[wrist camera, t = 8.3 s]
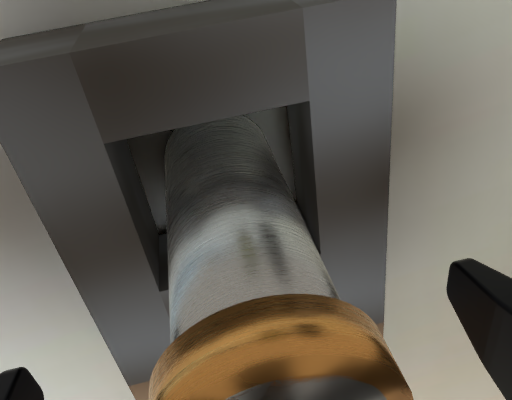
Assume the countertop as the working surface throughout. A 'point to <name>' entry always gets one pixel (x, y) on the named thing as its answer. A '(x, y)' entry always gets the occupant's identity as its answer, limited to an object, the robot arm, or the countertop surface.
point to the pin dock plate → (191, 113)
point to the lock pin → (254, 285)
